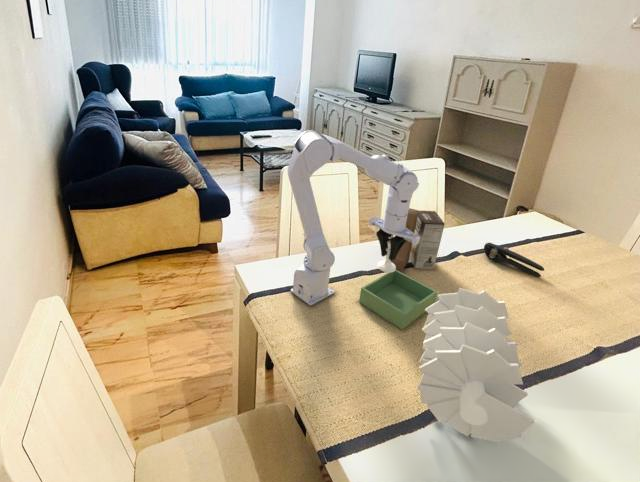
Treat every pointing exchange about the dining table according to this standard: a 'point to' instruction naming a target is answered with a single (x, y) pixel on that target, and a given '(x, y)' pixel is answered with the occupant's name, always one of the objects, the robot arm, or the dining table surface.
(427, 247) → the coffee box
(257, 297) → the dining table surface
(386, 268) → the chess piece
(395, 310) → the basket
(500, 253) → the can opener
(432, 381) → the spiral staircase
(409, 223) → the wooden block
